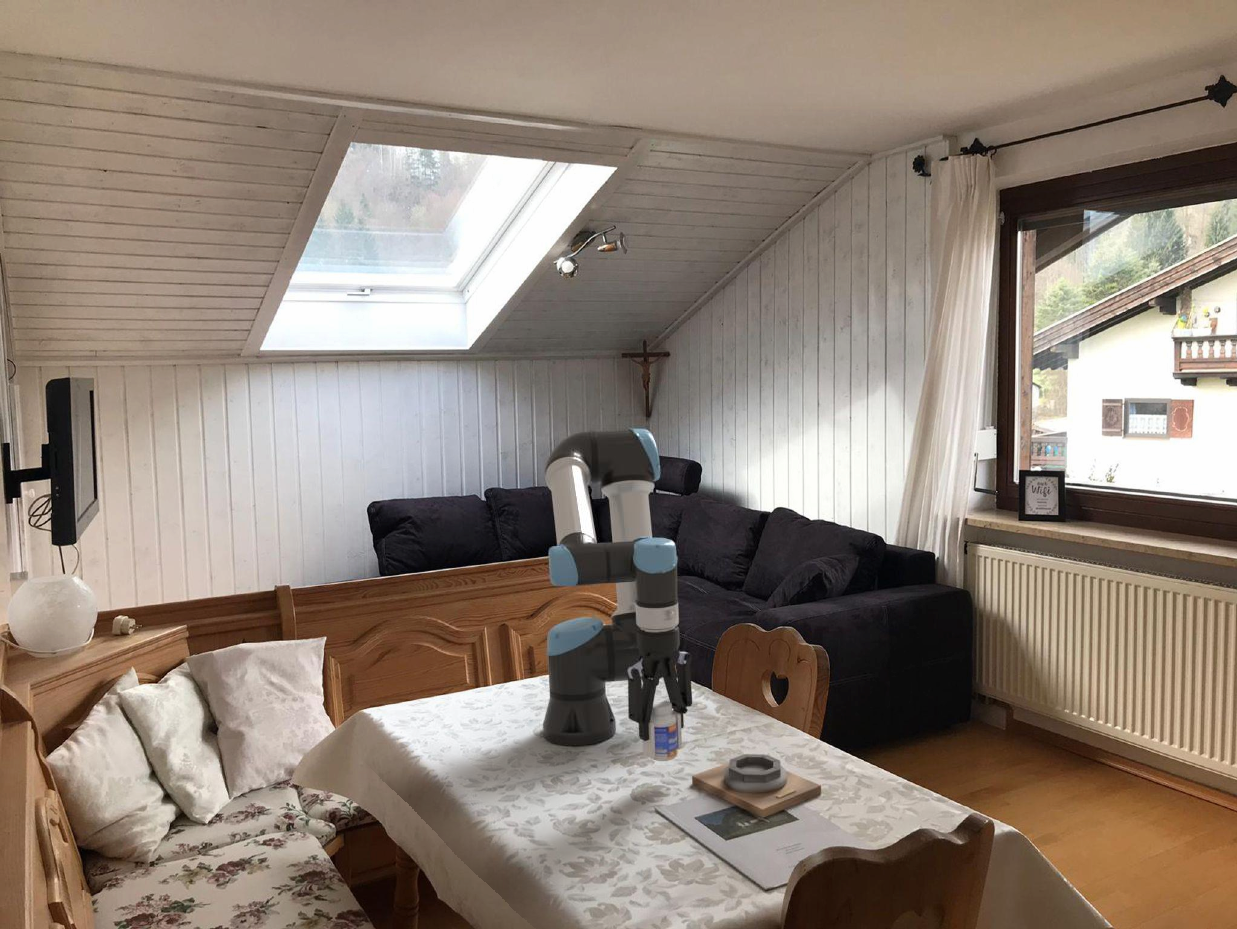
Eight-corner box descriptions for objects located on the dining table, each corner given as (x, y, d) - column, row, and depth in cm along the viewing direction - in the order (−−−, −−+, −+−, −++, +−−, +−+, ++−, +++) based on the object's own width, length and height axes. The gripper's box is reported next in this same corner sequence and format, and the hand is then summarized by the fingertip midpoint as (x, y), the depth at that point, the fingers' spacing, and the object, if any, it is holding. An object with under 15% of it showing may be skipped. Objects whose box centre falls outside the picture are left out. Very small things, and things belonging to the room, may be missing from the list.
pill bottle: (675, 762, 175) (673, 710, 174) (645, 761, 176) (643, 709, 175) (679, 750, 180) (677, 698, 179) (650, 748, 181) (648, 697, 180)
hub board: (692, 783, 178) (691, 759, 177) (749, 763, 186) (748, 739, 185) (762, 818, 163) (761, 791, 163) (821, 793, 171) (820, 768, 171)
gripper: (628, 642, 167) (634, 772, 170) (711, 620, 177) (714, 743, 180) (603, 632, 173) (608, 758, 176) (684, 611, 183) (688, 731, 186)
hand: (662, 751), depth 178 cm, fingers closed on pill bottle, 5 cm apart
